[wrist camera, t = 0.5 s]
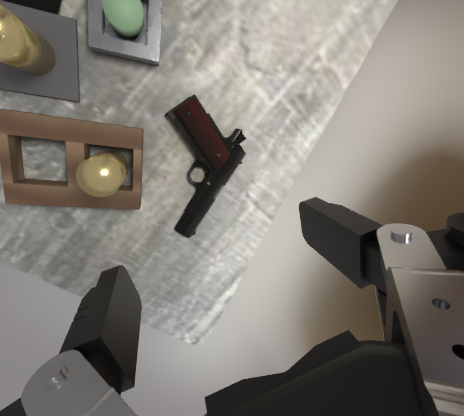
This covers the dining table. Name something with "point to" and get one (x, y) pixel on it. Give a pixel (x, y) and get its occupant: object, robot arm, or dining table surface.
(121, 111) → the dining table surface
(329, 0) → the dining table surface
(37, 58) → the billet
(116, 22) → the button
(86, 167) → the billet seated
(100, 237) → the dining table surface
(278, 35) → the dining table surface
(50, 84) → the mat
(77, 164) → the brown wooden rectangular frame
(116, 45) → the button housing
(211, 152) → the handgun
